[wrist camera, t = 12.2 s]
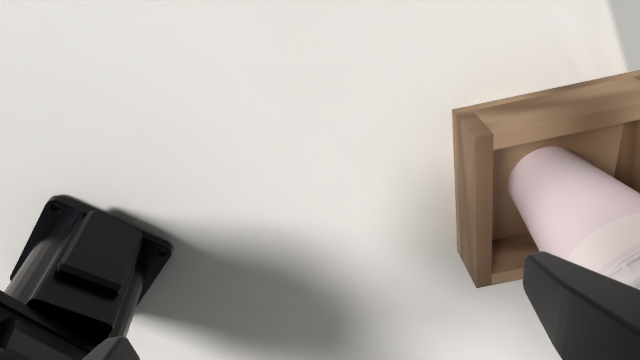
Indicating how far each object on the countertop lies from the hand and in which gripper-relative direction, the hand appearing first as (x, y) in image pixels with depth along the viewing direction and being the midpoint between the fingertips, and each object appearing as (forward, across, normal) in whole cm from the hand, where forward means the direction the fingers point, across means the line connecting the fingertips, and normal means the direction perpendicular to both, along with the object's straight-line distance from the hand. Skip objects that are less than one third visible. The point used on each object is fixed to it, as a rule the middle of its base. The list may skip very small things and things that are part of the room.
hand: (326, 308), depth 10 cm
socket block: (+13, +12, -7) cm, 19 cm away
